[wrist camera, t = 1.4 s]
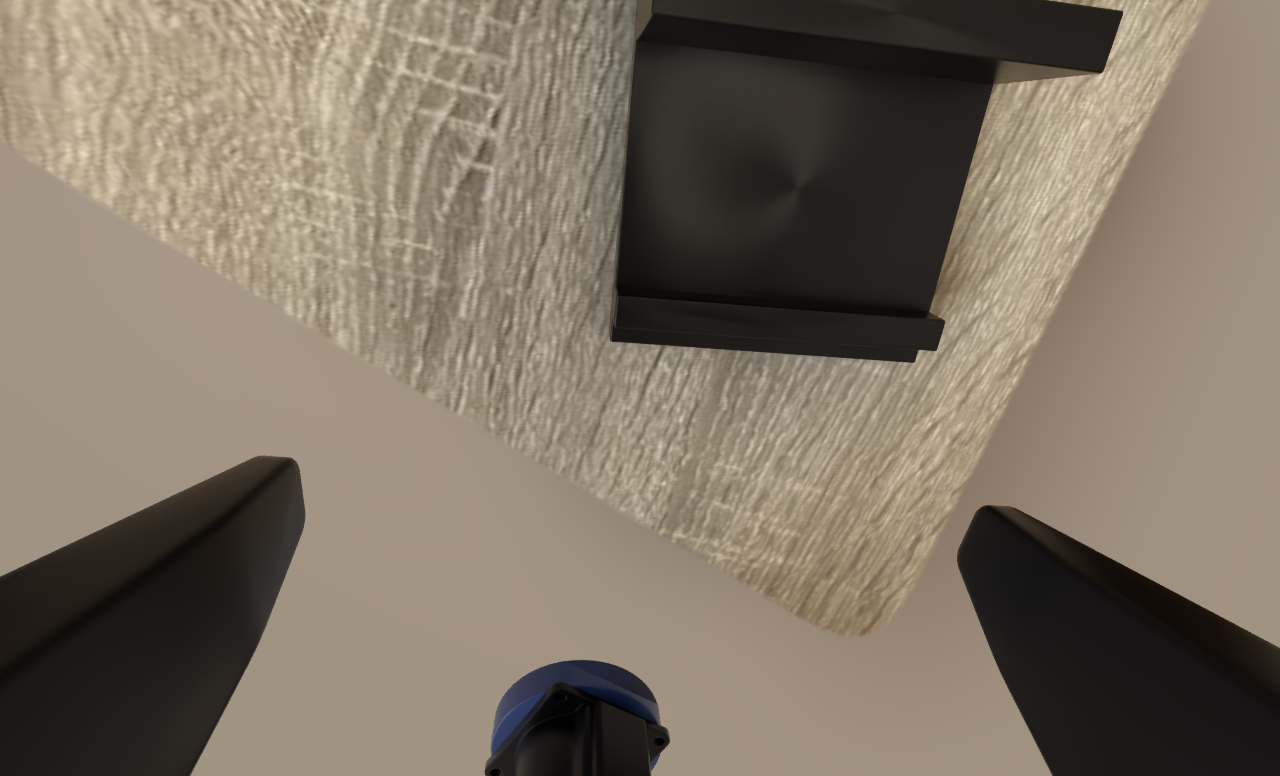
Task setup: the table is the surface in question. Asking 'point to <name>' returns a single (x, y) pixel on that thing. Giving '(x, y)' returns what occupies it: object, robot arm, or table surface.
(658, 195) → the clock rack
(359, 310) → the table surface
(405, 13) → the table surface
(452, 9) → the table surface
